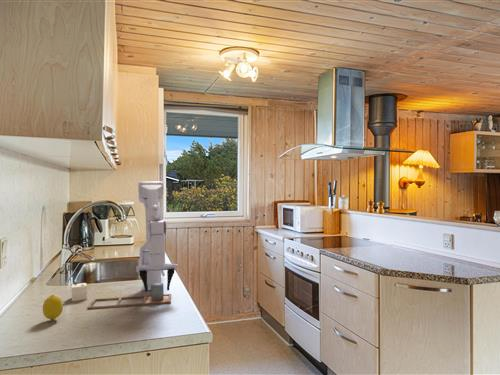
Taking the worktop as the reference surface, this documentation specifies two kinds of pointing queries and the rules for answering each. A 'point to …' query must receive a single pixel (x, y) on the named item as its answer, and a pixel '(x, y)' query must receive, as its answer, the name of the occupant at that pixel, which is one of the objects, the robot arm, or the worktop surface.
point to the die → (79, 291)
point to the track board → (148, 302)
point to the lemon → (52, 307)
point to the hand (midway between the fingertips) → (157, 290)
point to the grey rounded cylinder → (157, 292)
